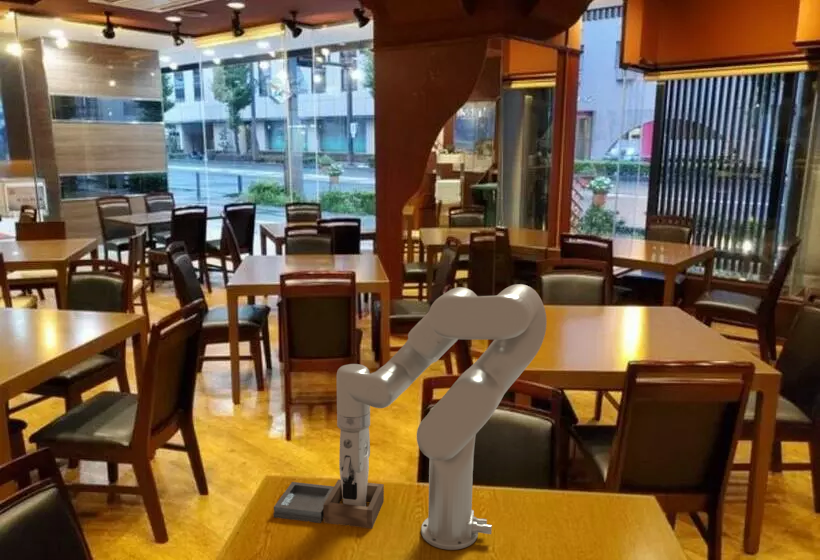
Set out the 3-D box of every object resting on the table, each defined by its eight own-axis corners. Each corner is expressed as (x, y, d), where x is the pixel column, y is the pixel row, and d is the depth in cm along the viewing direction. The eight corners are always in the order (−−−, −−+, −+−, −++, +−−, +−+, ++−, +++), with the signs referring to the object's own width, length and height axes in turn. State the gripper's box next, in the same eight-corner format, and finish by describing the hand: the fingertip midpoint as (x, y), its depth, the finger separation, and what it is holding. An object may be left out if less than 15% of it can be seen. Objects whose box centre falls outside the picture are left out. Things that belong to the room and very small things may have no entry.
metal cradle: (336, 495, 152) (336, 486, 151) (320, 523, 140) (320, 513, 140) (292, 490, 154) (292, 481, 154) (273, 517, 142) (273, 507, 142)
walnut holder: (383, 501, 149) (383, 484, 149) (372, 528, 138) (372, 510, 138) (338, 496, 152) (338, 479, 151) (323, 522, 141) (323, 504, 140)
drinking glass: (334, 514, 144) (333, 455, 141) (350, 501, 149) (349, 443, 147) (359, 522, 140) (358, 462, 138) (374, 508, 146) (374, 449, 144)
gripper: (359, 436, 131) (360, 512, 135) (378, 405, 148) (378, 473, 152) (325, 433, 133) (327, 508, 136) (348, 402, 149) (349, 470, 153)
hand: (354, 489), depth 144 cm, fingers closed on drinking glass, 6 cm apart
